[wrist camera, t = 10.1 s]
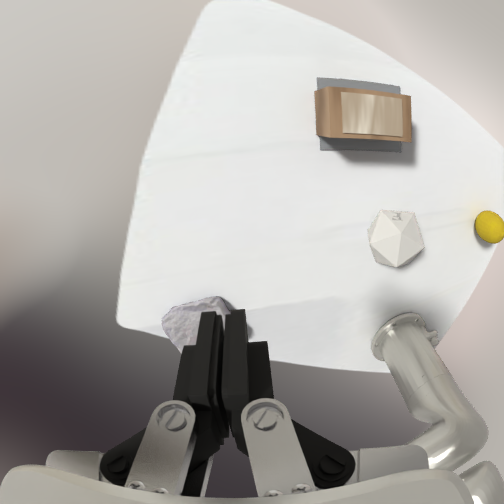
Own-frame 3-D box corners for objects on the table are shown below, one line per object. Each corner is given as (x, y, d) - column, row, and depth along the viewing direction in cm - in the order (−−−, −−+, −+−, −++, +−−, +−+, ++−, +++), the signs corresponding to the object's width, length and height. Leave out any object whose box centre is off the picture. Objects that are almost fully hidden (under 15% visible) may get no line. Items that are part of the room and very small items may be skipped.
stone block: (160, 309, 48) (192, 351, 50) (151, 321, 43) (187, 366, 45) (215, 278, 46) (247, 325, 48) (210, 289, 42) (246, 340, 44)
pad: (399, 86, 31) (399, 86, 31) (400, 152, 36) (400, 152, 35) (316, 77, 31) (317, 77, 31) (320, 149, 35) (320, 149, 35)
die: (413, 218, 41) (429, 202, 32) (412, 271, 40) (428, 268, 31) (366, 214, 44) (371, 198, 34) (364, 267, 43) (369, 264, 34)
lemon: (469, 205, 39) (498, 221, 32) (487, 204, 39) (514, 219, 32) (465, 233, 42) (492, 252, 34) (483, 231, 42) (508, 248, 34)
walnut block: (314, 91, 32) (388, 97, 32) (316, 135, 34) (389, 138, 34) (328, 86, 26) (411, 96, 26) (330, 137, 29) (412, 142, 29)
